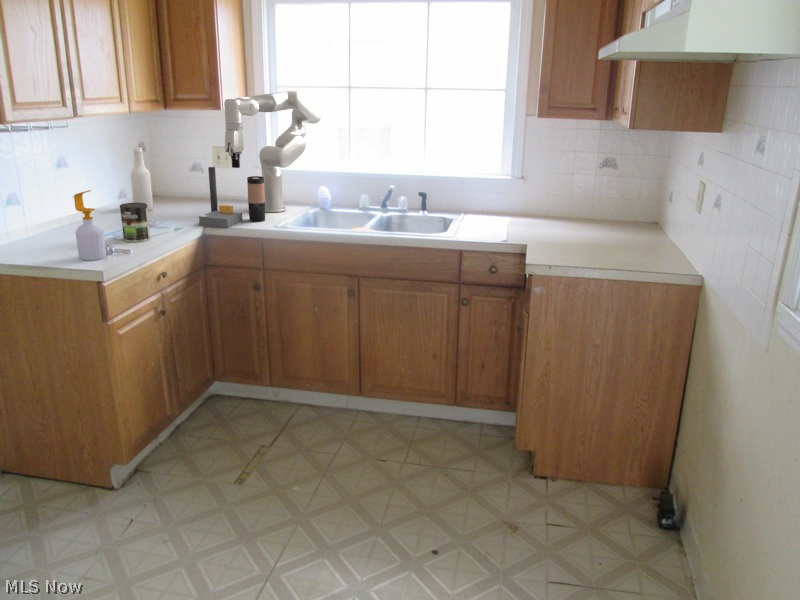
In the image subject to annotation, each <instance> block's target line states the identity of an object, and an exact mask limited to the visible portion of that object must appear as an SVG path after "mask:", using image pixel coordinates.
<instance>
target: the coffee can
mask: <svg viewBox="0 0 800 600" xmlns="http://www.w3.org/2000/svg"><path fill="white" fill-rule="evenodd" d="M119 209H120V210H119V211H120V218H121V227H122V234H123V235H122V236H123V241H124V242H127V243H141V242H146V241H149V240H151V236H150V235H151V234H150V222H149V214H148V213H149V211H147V204H145V203H134V202H126V203H121V204H120V205H119Z"/></svg>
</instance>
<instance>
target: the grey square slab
mask: <svg viewBox="0 0 800 600" xmlns="http://www.w3.org/2000/svg"><path fill="white" fill-rule="evenodd" d="M198 221H199V223H198V224H199V226H201V227H202V226H203V227H214V228H227V229H230V228H231V227H233V226H235V225H238V224H240V222H241V223H243V221H244V220H243V212H235V211H233V213H220V212H219V210H218V211H213V212H207V213H205V214H202V215H199V216H198Z"/></svg>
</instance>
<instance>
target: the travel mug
mask: <svg viewBox="0 0 800 600" xmlns="http://www.w3.org/2000/svg"><path fill="white" fill-rule="evenodd" d="M246 180H247V200H248V201H247V204H248V215H249V221H250V222H254V223H260V222H261V223H262V222H265V221H266V212H265V192H264V177H262V175H261V176H259V175H253V176H251V175H250V176H247V178H246Z"/></svg>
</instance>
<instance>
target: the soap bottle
mask: <svg viewBox="0 0 800 600" xmlns="http://www.w3.org/2000/svg"><path fill="white" fill-rule="evenodd" d="M89 192H92V190H91V189H89V190H86V191H85V190H84V191H82V192H79V193H75V194H74V195H73V201H74V207H75V210H76V211H77V212H82V214H84V216H83V217H82V224H81V225H79V226H78V228H76V230H75V240H76V245H77V252H78V253H77V254H78V258H79V260H82V261H89V262H90V261H99V260H102V259H104V258H107V249H106V242H105V241H106V240H105V234H104V230H103V227H101V226H100V225H99V224H96V223H95V222H94V217H93V216H91V214H92V212H93V211H95V210H96V209H95V208H91V207H90V208H88V207H85V205H84V199H83V195H84V194H86V193H89Z"/></svg>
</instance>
